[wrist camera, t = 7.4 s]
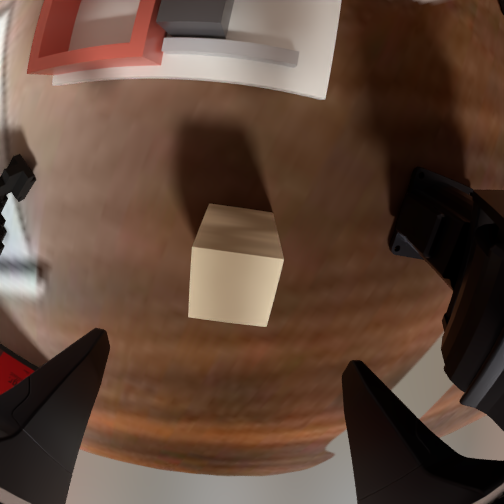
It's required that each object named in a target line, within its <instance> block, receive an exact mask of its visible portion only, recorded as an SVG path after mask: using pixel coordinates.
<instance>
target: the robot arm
mask: <svg viewBox="0 0 504 504" xmlns="http://www.w3.org/2000/svg"><path fill="white" fill-rule="evenodd" d="M420 172H421V177H419V173H420ZM469 194H470V195H469ZM397 245H398V247H397V248H396V249H395V247H396V246H397ZM389 249H390V251H391V252H392V253H393V254H395V255H400V256H406V257H411V258H417V259H423V260H425V261H426V262H427V263H428V264H429V265H430V266H431V267H432V268H433V269H434V270H435V271H436V273H437V274H438V275H439V276H440V277H441V278H442V279H443V280H444V281H445V282H446V284H447V285H448V286H449V287H450V288H451V289H452V290H453V294H452V297H451V300H450V304H449V306H448V309H447V312H446V313H445V314H444V317H443V319H442V324H443V328H444V335H443V337H442V346H441V351H442V355H443V359H444V363H445V366H444V371H445V373H446V374H447V376H448V377H449V379H450V380H451V381H452V382H453V383H454V384H455V385H456V386H457V387H458V388H459V389H460V390H461V391H463V392H465V393H464V394H463V396H462V397H461V399H460V403H461V404H462V405H466V406H470V407H474V408H476V409H478V410H480V411H482V412H484V413H485V414H487V415H488V416H489V417H490V418H492V419H493V420H494V421H495V423H496V424H497V425H498V426H499V427H500V428H501V429H502V430H503V431H504V190H473V189H472V188H470V187H467V186H465V185H463V184H461V183H458V182H456V181H454V180H451V179H449V178H447V177H444V176H442V175H439V174H437V173H434V172H432V171H429V170H427V169H424V168H421V167H417V168H415V169H414V171H413V174H412V178H411V181H410V185H409V188H408V192H407V194H406V196H405V199H404V202H403V205H402V208H401V212H400V215H399V218H398V221H397V224H396V229H395V232H394V235H393V237H392V240H391V243H390V246H389ZM109 351H110V344H109V340H108V336H107V332H106V331H105V330H104V329H100V328H94V329H93V330H92V331H90V332H89V333H87V334H86V335H84V336H83V337H82V338H80V339H79V340H77V341H76V342H75V343H73V344H72V345H70V346H69V347H68V348H66V349H65V350H63V351H62V352H61V353H59V354H58V355H56V356H55V357H54V358H52V359H51V360H49V361H48V362H47V363H45V364H44V365H43V366H41V367H40V368H39V369H37V370H36V371H34V372H33V373H32V374H30V376H28V377H26V378H25V379H24V380H22V381H21V382H19V383H18V384H16V385H15V386H14V387H12V388H10V389H9V390H7V391H6V392H4V393H2V394H1V395H0V504H65V503H66V498H67V494H68V490H69V486H70V482H71V478H72V473H73V469H74V465H75V462H76V459H77V455H78V451H79V448H80V445H81V442H82V438H83V435H84V432H85V429H86V426H87V423H88V420H89V417H90V414H91V411H92V408H93V405H94V402H95V399H96V397H97V394H98V391H99V388H100V385H101V382H102V378H103V374H104V370H105V366H106V362H107V358H108V355H109ZM342 388H343V403H344V414H345V420H346V426H347V432H348V438H349V444H350V450H351V457H352V464H353V471H354V479H355V487H356V495H357V504H504V461H497V460H484V459H475V458H467V457H464V456H462V455H460V454H458V453H457V452H455V451H454V450H453V449H451V447H449V446H448V445H447V444H446V443H444V442H443V441H442V440H441V439H440V438H438V437H437V436H436V435H435V434H434V433H433V432H432V431H430V430H429V429H428V428H427V427H426V426H425V425H424V424H423V423H422V422H421V421H420V420H419V419H418V418H417V417H416V416H415V415H414V414H413V413H412V412H411V411H410V410H409V409H408V408H407V407H406V405H404V404H403V402H402V401H401V400H399V398H398V397H397V396H396V395H395V394H394V393H393V392H392V391H391V390H390V389H389V388H388V387H387V386H386V385H385V384H384V383H383V382H382V381H381V380H380V379H379V378H378V377H377V376H376V375H375V374H374V373H373V372H372V371H371V370H370V369H369V368H368V367H367V366H366V365H365V364H364V363H363V362H362V361H360V360H352V361H350V362H349V364H348V366H347V367H346V369H345V371H344V372H343V375H342Z"/></svg>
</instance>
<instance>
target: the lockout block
mask: <svg viewBox="0 0 504 504" xmlns="http://www.w3.org/2000/svg"><path fill="white" fill-rule="evenodd" d="M283 261H284V257H283V253H282V249H281V244H280V240H279V236H278V232H277V228H276V223H275V219H274V215H273V213H272V212H265V211H259V210H252V209H246V208H239V207H232V206H225V205H217V204H210V203H209V205H208V208H207V210H206V213H205V215H204V218H203V220H202V223H201V225H200V228H199V230H198V233H197V236H196V238H195V241H194V243H193V246H192V257H191V273H190V291H189V315H188V317H192V318H199V319H206V320H213V321H221V322H228V323H236V324H245V325H254V326H263V327H267V323H268V320H269V316H270V312H271V308H272V304H273V301H274V297H275V293H276V289H277V285H278V281H279V277H280V273H281V269H282V265H283Z"/></svg>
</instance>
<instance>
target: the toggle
mask: <svg viewBox="0 0 504 504" xmlns="http://www.w3.org/2000/svg"><path fill="white" fill-rule="evenodd" d="M233 4H234V0H161V4H160V7H159V11H158V15H157V19H156V23H157V24H158V25H160V26H161V27H162V28H163V29H164V30H165V31H166V32H167V33H168V34H169V35H171V36H172V37H204V38H219V39H226V36H227V31H228V27H229V22H230V17H231V13H232V8H233Z"/></svg>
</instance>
